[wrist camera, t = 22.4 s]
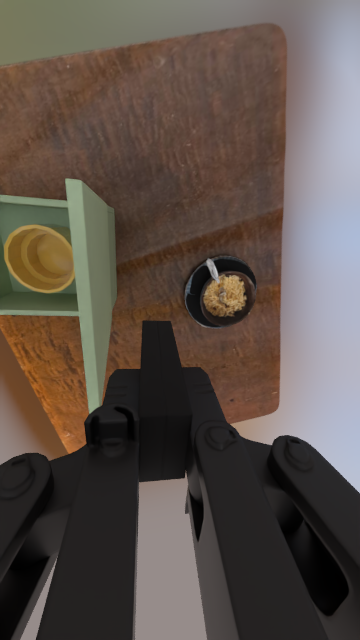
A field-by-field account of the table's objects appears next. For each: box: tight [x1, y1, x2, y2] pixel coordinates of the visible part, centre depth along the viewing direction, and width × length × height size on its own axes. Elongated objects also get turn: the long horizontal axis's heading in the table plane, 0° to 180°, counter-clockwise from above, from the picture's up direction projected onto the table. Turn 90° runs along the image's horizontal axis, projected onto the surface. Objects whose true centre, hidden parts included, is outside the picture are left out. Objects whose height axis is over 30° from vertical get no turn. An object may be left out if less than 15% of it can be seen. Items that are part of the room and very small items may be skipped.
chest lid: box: [65, 178, 112, 414], centre depth 23 cm, size 19×16×1 cm
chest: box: [0, 195, 117, 316], centre depth 35 cm, size 19×16×10 cm
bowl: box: [4, 224, 75, 293], centre depth 35 cm, size 9×9×8 cm
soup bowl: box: [184, 256, 257, 329], centre depth 43 cm, size 15×16×7 cm
